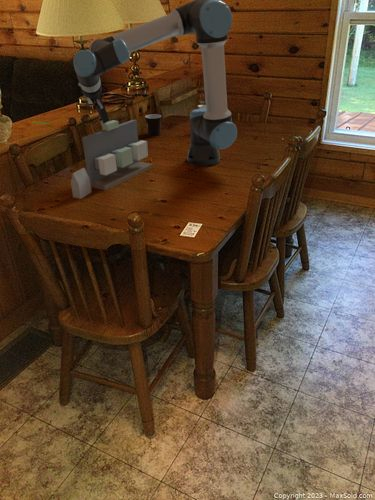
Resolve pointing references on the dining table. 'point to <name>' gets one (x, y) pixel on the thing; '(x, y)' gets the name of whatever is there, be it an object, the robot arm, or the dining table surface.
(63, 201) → the dining table surface
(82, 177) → the grey upright block
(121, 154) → the key middle
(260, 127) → the dining table surface
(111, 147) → the grey upright panel
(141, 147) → the key
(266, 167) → the dining table surface
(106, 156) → the key
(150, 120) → the coffee mug
